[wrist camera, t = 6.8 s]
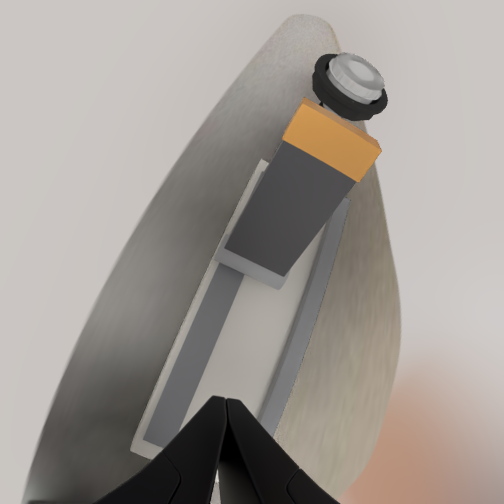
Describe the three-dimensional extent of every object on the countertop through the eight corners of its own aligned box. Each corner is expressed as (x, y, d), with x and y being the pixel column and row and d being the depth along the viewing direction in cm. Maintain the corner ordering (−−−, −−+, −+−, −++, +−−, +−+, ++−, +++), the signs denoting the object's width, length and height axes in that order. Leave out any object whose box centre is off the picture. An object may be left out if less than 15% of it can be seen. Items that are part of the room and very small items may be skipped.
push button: (288, 110, 28) (337, 28, 18) (338, 139, 28) (399, 68, 19) (259, 157, 25) (313, 66, 16) (317, 191, 26) (391, 116, 16)
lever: (275, 295, 18) (384, 153, 12) (210, 264, 18) (299, 102, 12) (278, 276, 20) (378, 140, 13) (218, 247, 19) (302, 95, 13)
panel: (236, 476, 17) (251, 494, 14) (132, 439, 16) (128, 455, 13) (330, 219, 25) (353, 201, 22) (250, 176, 24) (264, 152, 21)
